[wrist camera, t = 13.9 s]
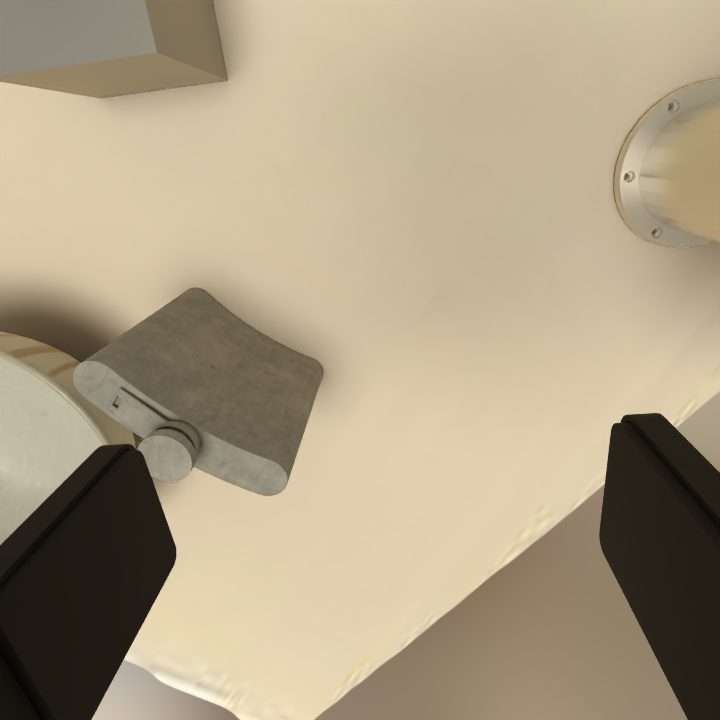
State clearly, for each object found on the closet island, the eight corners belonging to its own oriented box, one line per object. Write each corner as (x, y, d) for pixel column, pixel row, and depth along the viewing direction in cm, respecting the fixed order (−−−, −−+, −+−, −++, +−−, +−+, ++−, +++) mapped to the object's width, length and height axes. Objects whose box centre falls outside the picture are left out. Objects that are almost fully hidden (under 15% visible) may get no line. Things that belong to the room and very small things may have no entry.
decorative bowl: (77, 245, 46) (-25, 276, 35) (227, 458, 55) (184, 537, 44) (-108, 352, 52) (-244, 408, 41) (54, 528, 61) (-22, 612, 50)
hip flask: (328, 367, 49) (288, 498, 31) (308, 396, 50) (258, 536, 32) (190, 281, 46) (56, 368, 28) (173, 314, 48) (35, 416, 30)
